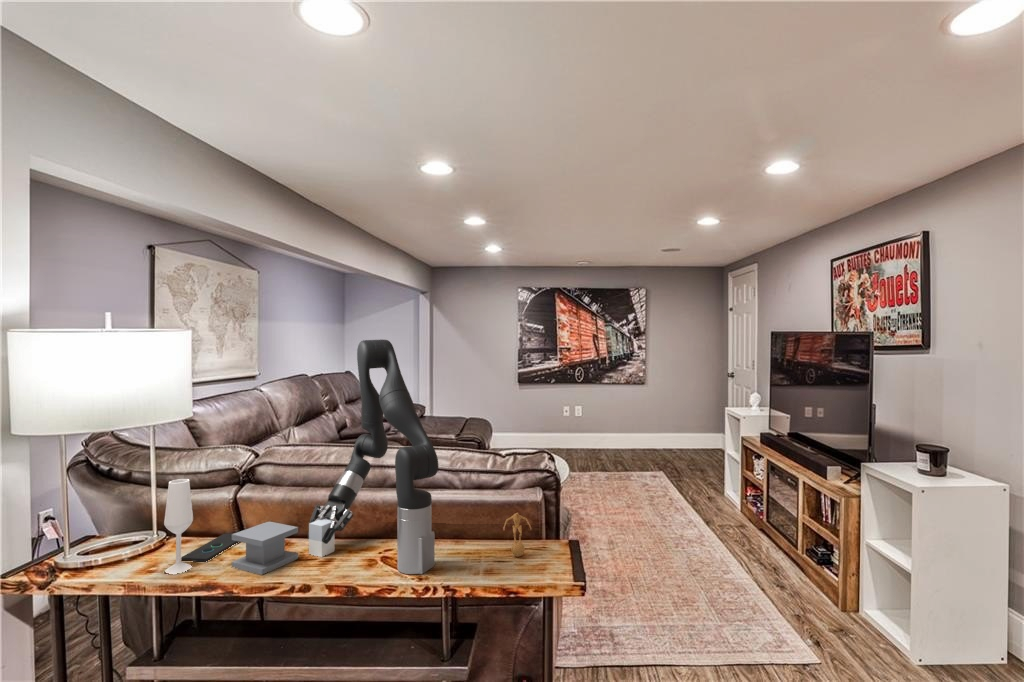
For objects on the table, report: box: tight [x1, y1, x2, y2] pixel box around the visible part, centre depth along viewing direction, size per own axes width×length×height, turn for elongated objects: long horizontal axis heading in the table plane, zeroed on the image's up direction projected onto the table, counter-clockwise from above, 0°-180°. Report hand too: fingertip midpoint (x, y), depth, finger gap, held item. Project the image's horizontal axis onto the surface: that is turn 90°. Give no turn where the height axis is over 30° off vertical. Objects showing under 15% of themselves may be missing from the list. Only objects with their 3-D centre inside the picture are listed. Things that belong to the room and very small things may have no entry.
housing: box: [308, 518, 335, 558], centre depth 153 cm, size 5×5×9 cm
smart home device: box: [181, 532, 239, 563], centre depth 156 cm, size 8×2×20 cm
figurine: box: [502, 512, 532, 558], centre depth 151 cm, size 8×6×12 cm
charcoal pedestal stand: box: [231, 521, 299, 576], centre depth 146 cm, size 12×12×9 cm
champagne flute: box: [163, 478, 194, 575], centre depth 142 cm, size 7×7×24 cm
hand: (317, 540), depth 151 cm, fingers closed on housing, 5 cm apart
